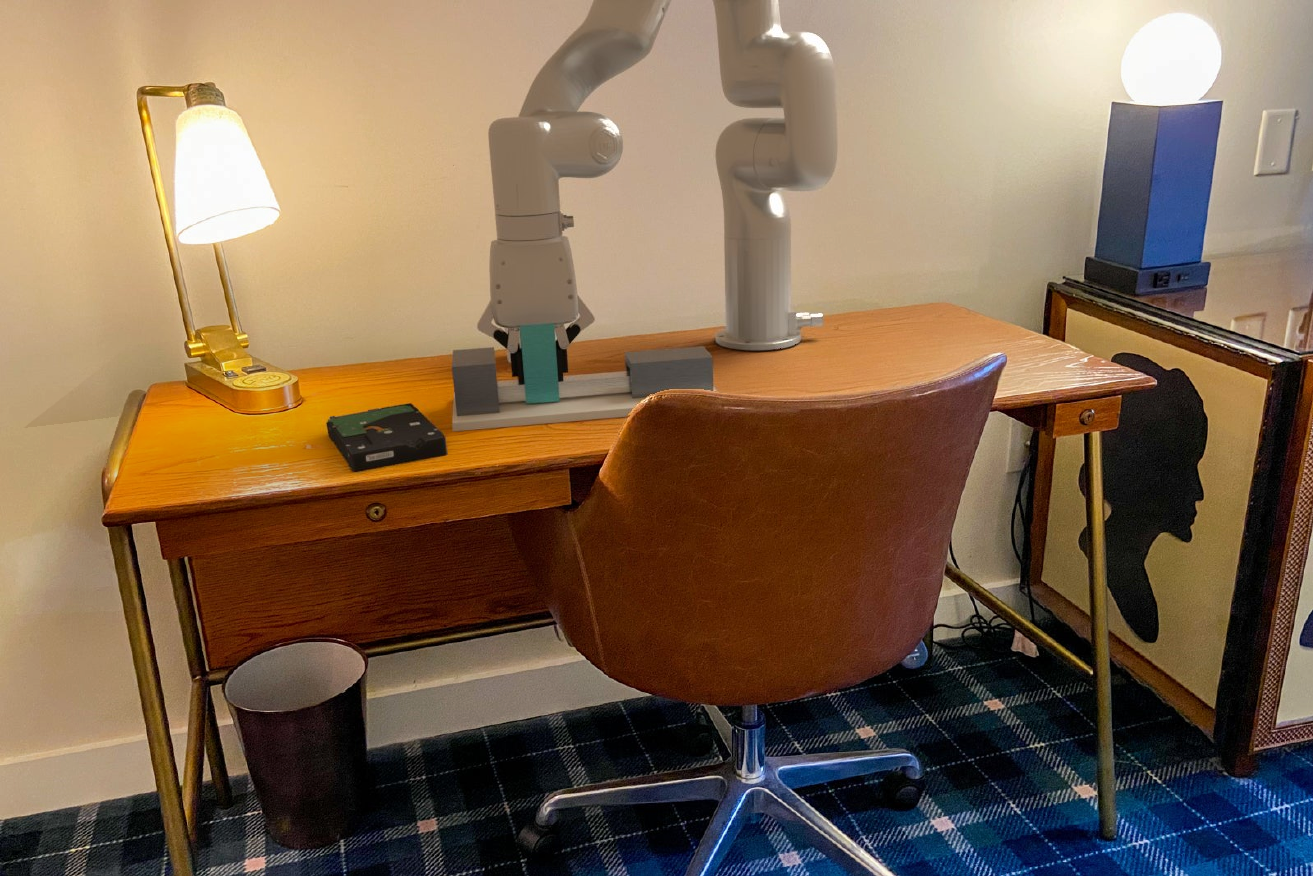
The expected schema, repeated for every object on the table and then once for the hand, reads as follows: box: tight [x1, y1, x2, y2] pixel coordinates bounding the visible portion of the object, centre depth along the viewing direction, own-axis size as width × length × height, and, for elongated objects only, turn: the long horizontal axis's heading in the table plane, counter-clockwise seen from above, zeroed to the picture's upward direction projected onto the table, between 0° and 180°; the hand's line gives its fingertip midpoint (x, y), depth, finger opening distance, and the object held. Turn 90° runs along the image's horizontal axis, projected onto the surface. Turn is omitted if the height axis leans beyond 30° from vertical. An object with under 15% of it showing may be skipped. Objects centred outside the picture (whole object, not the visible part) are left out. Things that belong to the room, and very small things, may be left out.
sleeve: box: [624, 345, 714, 399], centre depth 131 cm, size 10×6×4 cm, turn 99°
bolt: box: [497, 323, 631, 404], centre depth 129 cm, size 21×4×10 cm, turn 99°
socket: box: [451, 346, 500, 416], centre depth 128 cm, size 5×8×6 cm, turn 9°
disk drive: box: [325, 402, 449, 473], centre depth 119 cm, size 10×3×15 cm
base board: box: [451, 385, 718, 432], centre depth 131 cm, size 32×13×1 cm, turn 99°
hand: (540, 378), depth 129 cm, fingers closed on bolt, 4 cm apart
